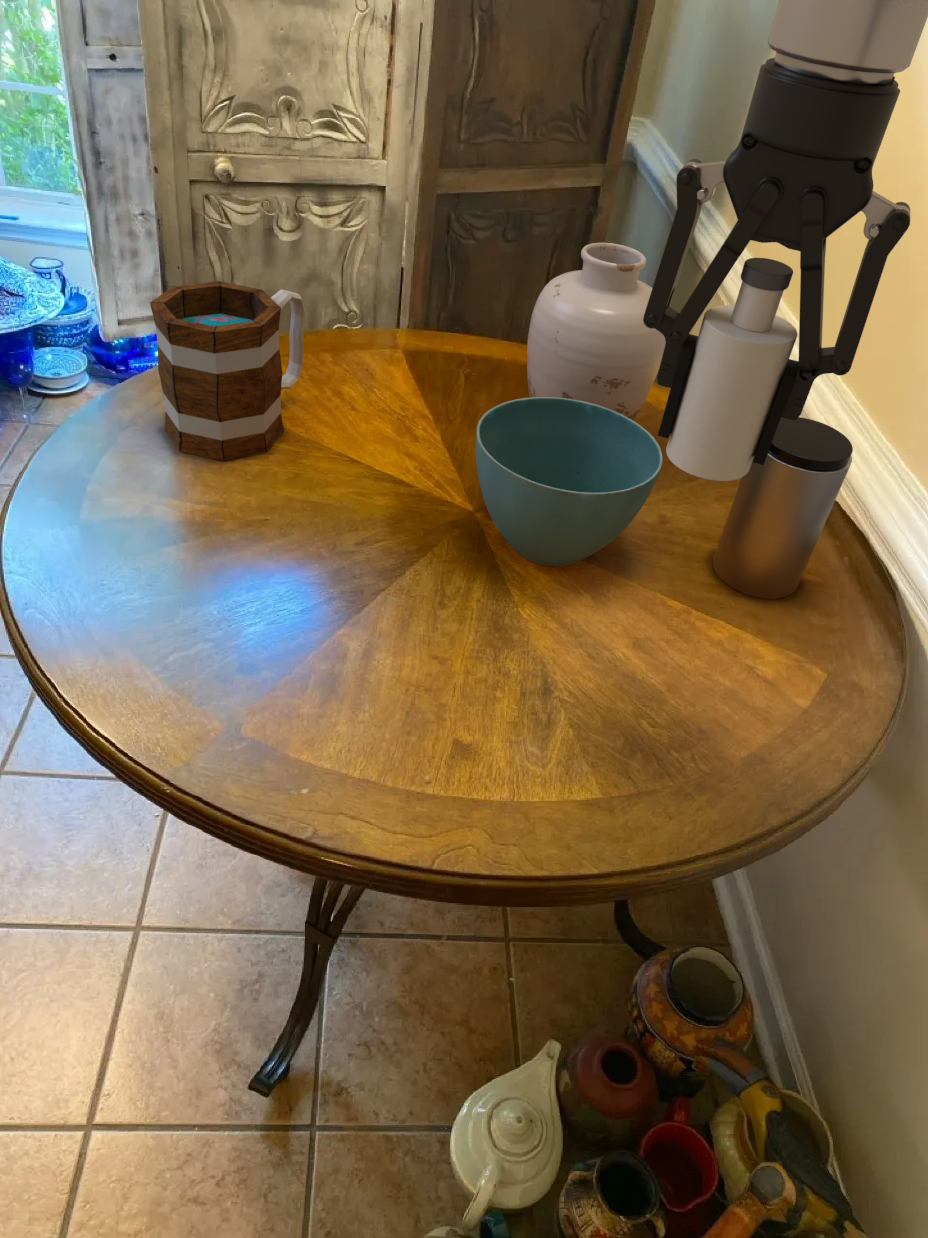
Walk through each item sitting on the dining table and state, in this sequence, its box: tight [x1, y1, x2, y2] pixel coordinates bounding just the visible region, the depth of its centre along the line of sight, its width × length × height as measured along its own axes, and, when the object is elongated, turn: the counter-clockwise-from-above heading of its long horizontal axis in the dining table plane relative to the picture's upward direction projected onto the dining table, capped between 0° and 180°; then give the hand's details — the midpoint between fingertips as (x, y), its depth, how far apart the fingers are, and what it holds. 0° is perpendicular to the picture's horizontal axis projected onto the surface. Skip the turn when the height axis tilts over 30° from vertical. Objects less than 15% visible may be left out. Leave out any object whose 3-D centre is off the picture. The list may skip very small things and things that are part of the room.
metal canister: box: [712, 416, 854, 600], centre depth 91 cm, size 9×9×16 cm
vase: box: [526, 242, 666, 421], centre depth 107 cm, size 16×16×23 cm
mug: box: [149, 280, 306, 462], centre depth 104 cm, size 20×14×15 cm
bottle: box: [665, 257, 798, 482], centre depth 61 cm, size 6×6×14 cm
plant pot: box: [475, 397, 664, 567], centre depth 93 cm, size 18×18×12 cm
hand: (713, 441), depth 64 cm, fingers closed on bottle, 6 cm apart
